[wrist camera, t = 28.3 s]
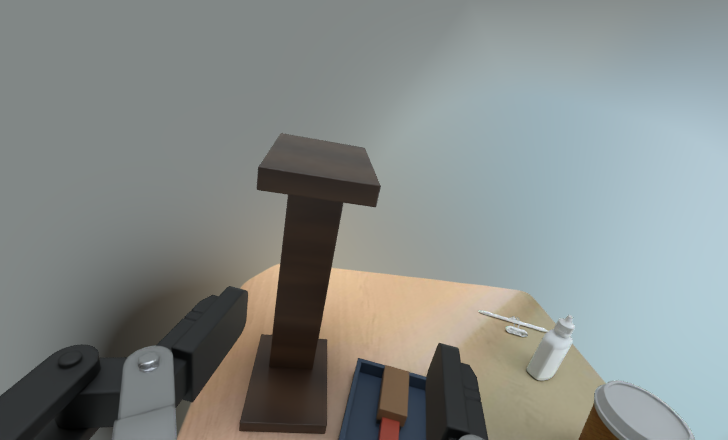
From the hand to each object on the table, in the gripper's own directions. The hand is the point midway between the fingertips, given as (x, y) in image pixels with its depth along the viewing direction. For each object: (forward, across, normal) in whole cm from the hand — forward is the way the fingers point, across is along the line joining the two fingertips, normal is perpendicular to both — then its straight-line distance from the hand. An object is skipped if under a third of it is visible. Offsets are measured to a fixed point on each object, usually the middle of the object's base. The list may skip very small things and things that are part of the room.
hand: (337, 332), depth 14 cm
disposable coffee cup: (+21, -34, +31) cm, 51 cm away
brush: (+17, -7, +30) cm, 35 cm away
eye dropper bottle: (+37, -32, +31) cm, 58 cm away
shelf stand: (+22, +7, +31) cm, 38 cm away
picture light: (+48, -30, +31) cm, 64 cm away
